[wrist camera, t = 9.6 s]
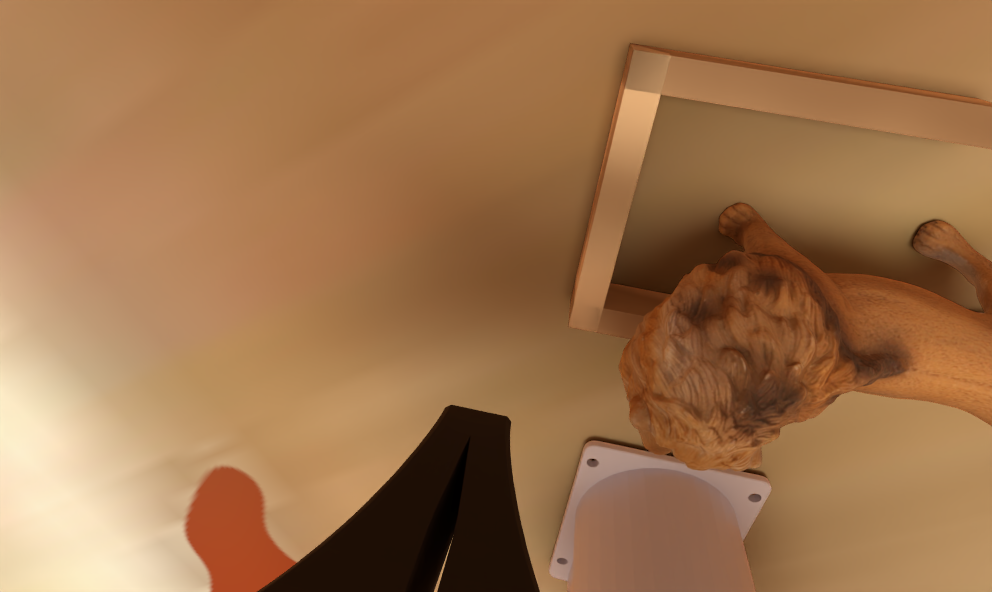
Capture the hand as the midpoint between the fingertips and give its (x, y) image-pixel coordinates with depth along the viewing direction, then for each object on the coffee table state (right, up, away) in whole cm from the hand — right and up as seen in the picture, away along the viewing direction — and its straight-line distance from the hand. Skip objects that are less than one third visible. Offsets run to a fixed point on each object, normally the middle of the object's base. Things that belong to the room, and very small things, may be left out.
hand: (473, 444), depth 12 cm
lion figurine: (+12, +4, +7) cm, 14 cm away
